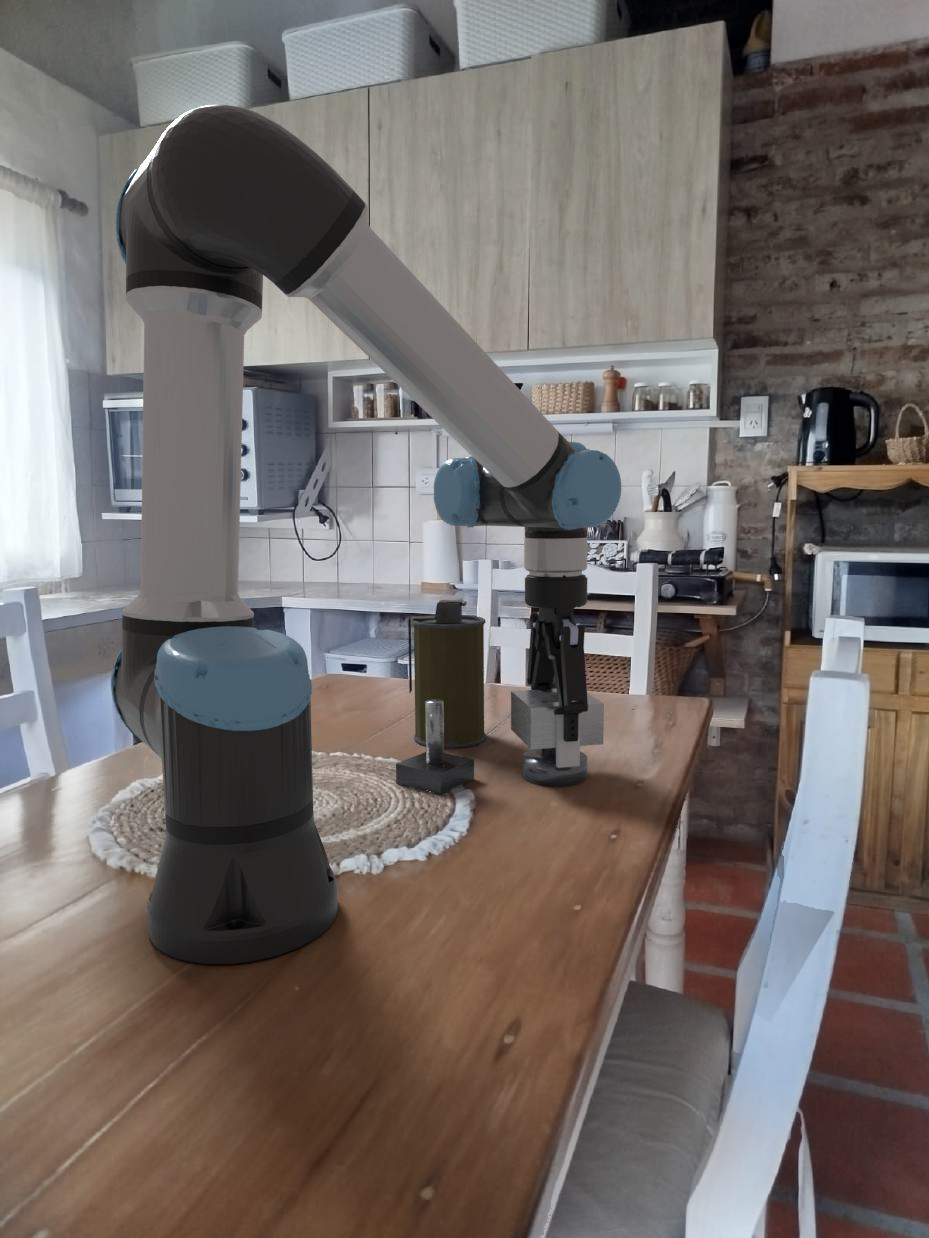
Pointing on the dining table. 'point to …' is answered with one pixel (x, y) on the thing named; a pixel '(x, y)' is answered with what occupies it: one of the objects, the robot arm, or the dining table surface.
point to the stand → (435, 759)
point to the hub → (551, 769)
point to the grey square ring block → (551, 718)
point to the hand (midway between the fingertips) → (555, 753)
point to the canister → (449, 672)
